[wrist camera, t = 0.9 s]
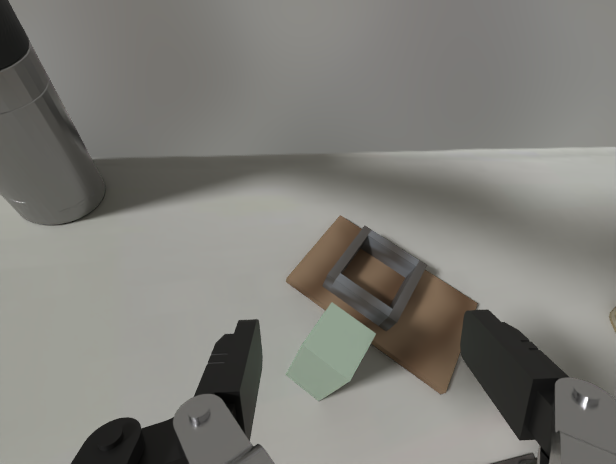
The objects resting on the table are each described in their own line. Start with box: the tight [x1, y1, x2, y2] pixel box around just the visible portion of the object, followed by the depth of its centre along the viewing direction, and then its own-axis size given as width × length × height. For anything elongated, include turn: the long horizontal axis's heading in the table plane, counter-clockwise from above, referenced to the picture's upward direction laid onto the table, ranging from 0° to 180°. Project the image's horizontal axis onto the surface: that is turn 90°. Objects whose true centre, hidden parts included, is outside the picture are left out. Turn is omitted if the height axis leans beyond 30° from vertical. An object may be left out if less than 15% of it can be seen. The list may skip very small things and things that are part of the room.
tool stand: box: [286, 216, 478, 394], centre depth 36 cm, size 20×12×4 cm, turn 55°
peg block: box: [286, 302, 376, 401], centre depth 27 cm, size 4×4×11 cm
